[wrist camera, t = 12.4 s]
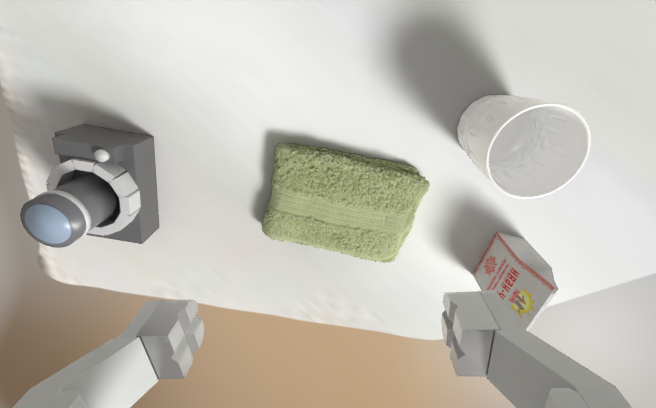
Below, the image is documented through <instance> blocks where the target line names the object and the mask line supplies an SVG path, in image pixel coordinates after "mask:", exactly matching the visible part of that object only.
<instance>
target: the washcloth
mask: <svg viewBox="0 0 656 408" xmlns="http://www.w3.org/2000/svg"><path fill="white" fill-rule="evenodd" d="M275 148H276V149H275V159H274V164H273V166H274V172H273V174H272V178H271V182H272V185H273V188H272V193H271V200H270V202H269V203H268V206H267V209H266V212H265V215H264V218H263V221H262V231H263V232H264V234H265V235H267V236H268V237H270V238H271V239H274V240H275V239H277V240H279V241H291V242H295V243H299V244H301V245H309V246H313V247H315V248H323V249H326V250H329V251H337V252H341V253H342V254H343V253H344V254H349V255H351V256H354V257H359V258H361V259H365V260H371V261H375V262H376V261H380V262H384V263H385V262H392V261H394V260H395V258H396V257H397V254H398V252H399V249H400V247H401V246H402V244H403V242H404V240H405V239H406V237H407V235H408V233H409V231H410V230H411V228H412V224H413V221H414V218H415V212H416V210H417V208H418V205H419V203H420V201H421V199H422V198H423V196H424V195H425V194H426V192H427V190H428V188H429V186H430V184H429V182H428V181H427V180H425V177H422V176H418V175H417V169H416V168H414V167H411V166H410V165H405V164H401V163H394V162H388V161H387V160H381V159H373V158H367V157H365V156H361V155H355V154H352V153H343V152H341V151H332V150H329V149H327V148H322V149H320V148H317V147H312V146H300V145H297V144H290V143H288V144H281V143H279V144H278V145H277V147H275Z"/></svg>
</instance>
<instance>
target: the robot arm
mask: <svg viewBox="0 0 656 408" xmlns="http://www.w3.org/2000/svg"><path fill="white" fill-rule="evenodd" d="M443 304H444V307H445V309H446V310H445V311H444V312H443V313H442V331H443V336H444V339H445V343H446V345H447V346H449V347H450V348H451V353H450V358H451V361H452V363H453V367H454V370H455V372H456V375H457V376H480V377H481V376H482V377H487V379H488V380H489V381H490V382H491V383H492V384H493V385H494V386H495V387H496V388H497V389H498V390H499V391H500V392H501V393H502V394H503V395H504V396H505V397H506V398H507V399H508V400H509V401H510V402H511V403H512V404H513V405H514V406H515V407H516V408H632V407H631V406H630V404H629V403H628V402H627V400H626V399H625V398H624V397H623V396H622V394H621V393H620V392H619V390H618V389H617V388H616V387H615V386H614V385H612V384H611V383H609V382H607V381H606V380H604V379H603V378H601V377H600V376H598V375H596V374H595V373H593V372H592V371H590V370H589V369H587V368H585V367H584V366H582V365H581V364H579V363H578V362H576V361H574V360H573V359H571V358H570V357H568V356H566V355H565V354H563V353H562V352H560V351H558V350H557V349H555V348H554V347H552V346H551V345H549V344H547V343H546V342H544V341H543V340H541V339H539V338H538V337H536V336H535V335H533V334H532V333H530V332H528V331H527V330H520V328H519V327H518V325H517V323H516V322H515V320H514V319H513V317H512V315H511V314H510V312H509V310H508V309H507V307H506V306H505V304H504V302H503V301H502V299H501V298H500V296H499V294H498V293H497V292H496V291H495V290H492V291H478V292H449V293H445V294H444V298H443ZM197 311H198V306H197V303H196V301H194V300H150V301H148V302H146V304H145V305H144V306H143V307H142V308H141V310H140V311H139V312H138V314H137V315H136V316H135V318H134V319H133V320H132V321H131V322H130V324H129V325H128V326H127V328H126V329H125V330H124V331H123V333H122V334H121V335H120V336H119V338H113V339H111V340H109V341H108V342H106V343H105V344H103V345H101V346H100V347H98V348H96V349H95V350H93V351H91V352H90V353H88V354H87V355H85V356H84V357H82V358H80V359H78V360H77V361H75V362H73V363H72V364H70V365H69V366H67V367H65V368H64V369H62V370H61V371H59V372H57V373H56V374H54V375H52V376H51V377H49V378H47V379H46V380H44V381H42V382H41V383H39V384H38V385H36V386H34V387H33V388H31V389H29V391H28V392H27V393H26V394H25V395H24V396H23V397H22V398H21V399H20V401H18V402H17V404H16V405H15V406H14V407H13V408H130V407H131V406H132V405H133V404H134V403H135V402H136V401H137V400H138V399H139V398H141V396H143V395H144V394H145V393H146V392H147V391H148V390H149V389H150V388H151V387H152V386H153V385H154V384H156V383H157V382H158V379H181V378H185V376H186V374H187V372H188V370H189V368H190V366H191V364H192V362H193V357H192V353H194V352H195V351H196V350H198V349H199V347H200V345H201V343H202V341H203V336H204V324H203V321H202V319H201V318H200V317H199V316H198V315H196V313H197Z"/></svg>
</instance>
